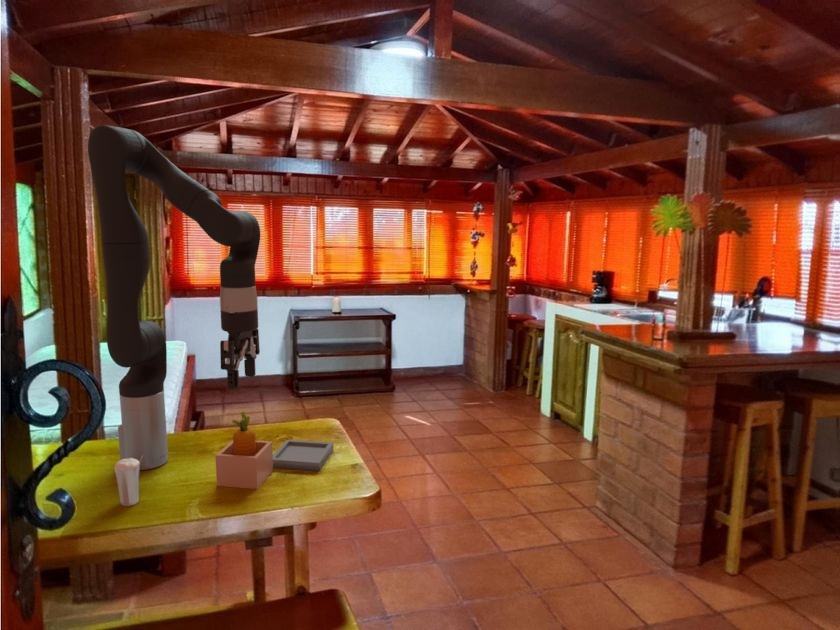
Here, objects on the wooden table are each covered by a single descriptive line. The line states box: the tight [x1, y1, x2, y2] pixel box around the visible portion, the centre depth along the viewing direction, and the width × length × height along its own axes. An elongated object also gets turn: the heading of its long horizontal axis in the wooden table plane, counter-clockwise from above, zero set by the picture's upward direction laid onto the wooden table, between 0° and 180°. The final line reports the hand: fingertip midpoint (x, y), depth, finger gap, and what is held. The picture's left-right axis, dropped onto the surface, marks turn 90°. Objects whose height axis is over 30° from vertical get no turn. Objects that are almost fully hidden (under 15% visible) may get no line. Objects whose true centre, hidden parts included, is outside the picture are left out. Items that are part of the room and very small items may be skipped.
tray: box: [273, 439, 334, 472], centre depth 140 cm, size 12×12×2 cm
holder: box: [215, 439, 274, 490], centre depth 129 cm, size 9×9×7 cm
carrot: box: [231, 411, 257, 456], centre depth 129 cm, size 5×5×15 cm
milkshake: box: [114, 455, 143, 507], centre depth 117 cm, size 4×5×10 cm
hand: (242, 381), depth 126 cm, fingers open, 8 cm apart
